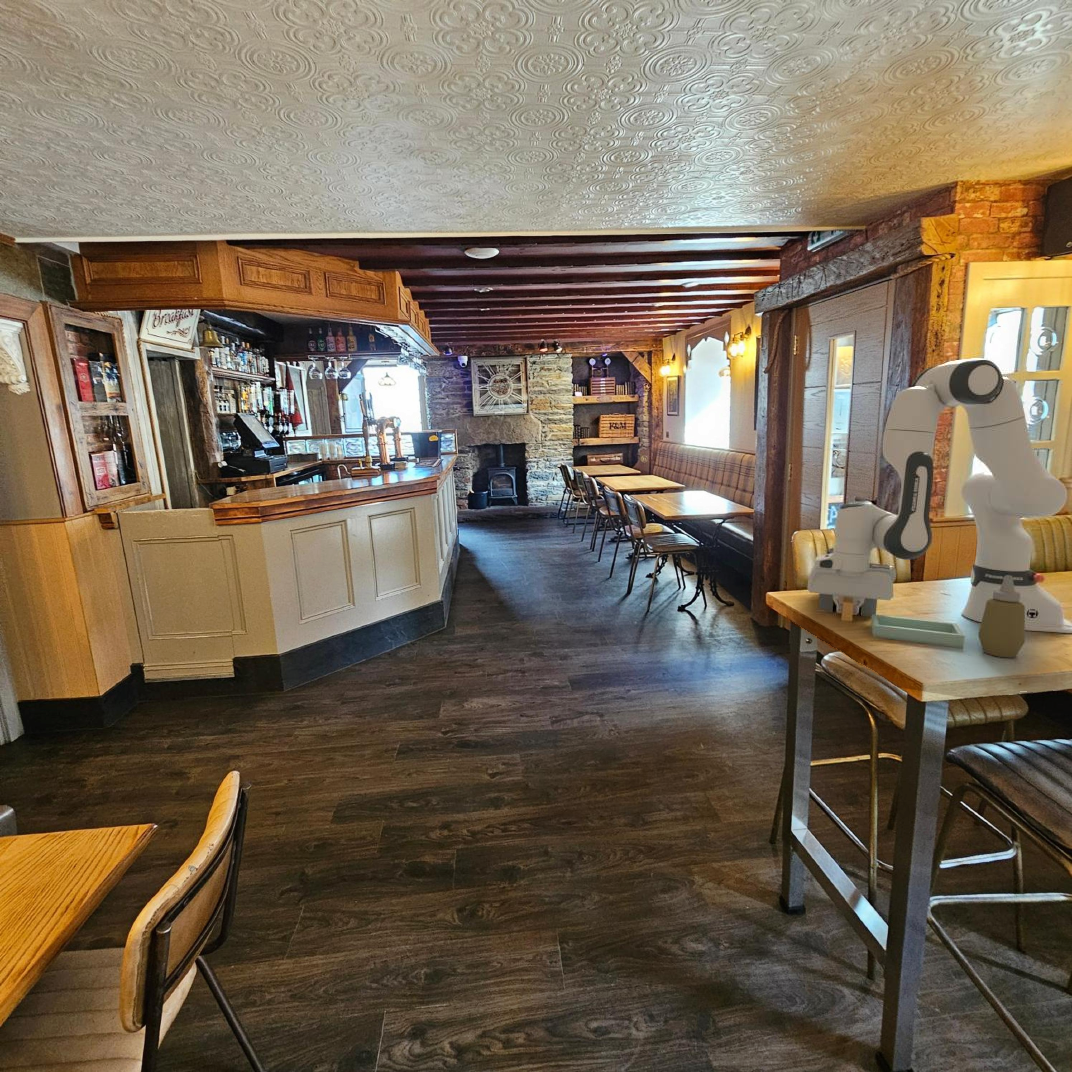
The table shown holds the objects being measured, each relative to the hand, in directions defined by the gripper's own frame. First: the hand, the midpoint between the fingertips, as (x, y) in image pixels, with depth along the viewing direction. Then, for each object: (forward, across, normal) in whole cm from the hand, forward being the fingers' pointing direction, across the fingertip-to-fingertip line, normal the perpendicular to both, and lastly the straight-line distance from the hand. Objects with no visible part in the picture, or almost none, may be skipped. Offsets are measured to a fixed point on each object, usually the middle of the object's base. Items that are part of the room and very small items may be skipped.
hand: (847, 611), depth 153 cm
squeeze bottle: (+2, -30, +14) cm, 33 cm away
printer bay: (+2, 0, -12) cm, 12 cm away
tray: (+2, -14, +8) cm, 17 cm away
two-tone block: (+2, 0, -4) cm, 5 cm away
